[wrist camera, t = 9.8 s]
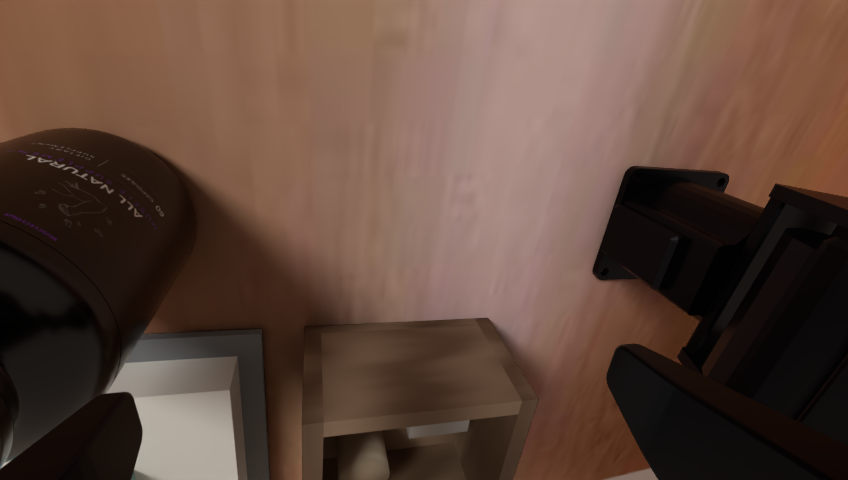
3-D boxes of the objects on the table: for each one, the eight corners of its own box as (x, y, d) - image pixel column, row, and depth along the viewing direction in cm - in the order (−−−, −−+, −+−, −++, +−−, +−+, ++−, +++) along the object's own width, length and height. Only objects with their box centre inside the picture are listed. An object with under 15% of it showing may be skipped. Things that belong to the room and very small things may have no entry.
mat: (262, 328, 20) (261, 333, 20) (271, 509, 26) (270, 515, 26) (-113, 346, 16) (-123, 353, 16) (-5, 552, 22) (-9, 560, 22)
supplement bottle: (189, 129, 16) (-58, 314, 5) (208, 283, 18) (74, 603, 8) (-38, 115, 14) (-1119, 356, 3) (22, 288, 17) (-464, 709, 6)
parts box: (487, 318, 23) (538, 399, 18) (460, 441, 27) (494, 536, 22) (304, 326, 21) (302, 424, 15) (304, 461, 25) (302, 575, 20)
